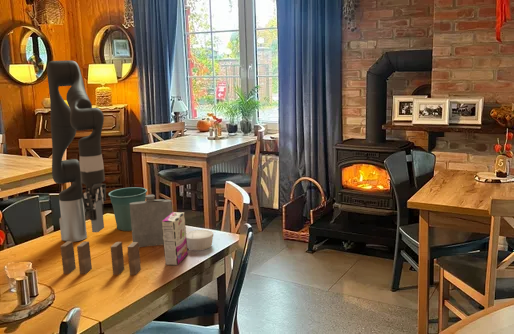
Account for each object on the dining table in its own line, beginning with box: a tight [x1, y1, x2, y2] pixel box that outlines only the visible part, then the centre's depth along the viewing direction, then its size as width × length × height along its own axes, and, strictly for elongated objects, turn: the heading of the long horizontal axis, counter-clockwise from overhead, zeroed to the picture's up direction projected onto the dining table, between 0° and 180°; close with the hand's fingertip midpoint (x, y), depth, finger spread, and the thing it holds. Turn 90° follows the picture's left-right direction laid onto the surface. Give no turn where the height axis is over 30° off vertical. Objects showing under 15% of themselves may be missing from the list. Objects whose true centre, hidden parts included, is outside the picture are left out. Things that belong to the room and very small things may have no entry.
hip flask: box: [130, 194, 173, 248], centre depth 205 cm, size 16×4×20 cm, turn 100°
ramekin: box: [186, 229, 214, 252], centre depth 201 cm, size 11×11×5 cm
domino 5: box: [127, 241, 142, 276], centre depth 178 cm, size 2×5×10 cm, turn 172°
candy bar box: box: [162, 211, 189, 266], centre depth 187 cm, size 11×5×16 cm, turn 168°
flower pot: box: [108, 186, 148, 232], centre depth 229 cm, size 16×16×16 cm
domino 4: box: [110, 241, 125, 276], centre depth 179 cm, size 2×5×10 cm, turn 172°
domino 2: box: [76, 240, 93, 275], centre depth 180 cm, size 2×5×10 cm, turn 172°
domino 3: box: [90, 200, 105, 233], centre depth 177 cm, size 2×5×10 cm, turn 172°
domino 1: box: [60, 241, 77, 275], centre depth 181 cm, size 2×5×10 cm, turn 172°
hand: (96, 217), depth 177 cm, fingers closed on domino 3, 5 cm apart
